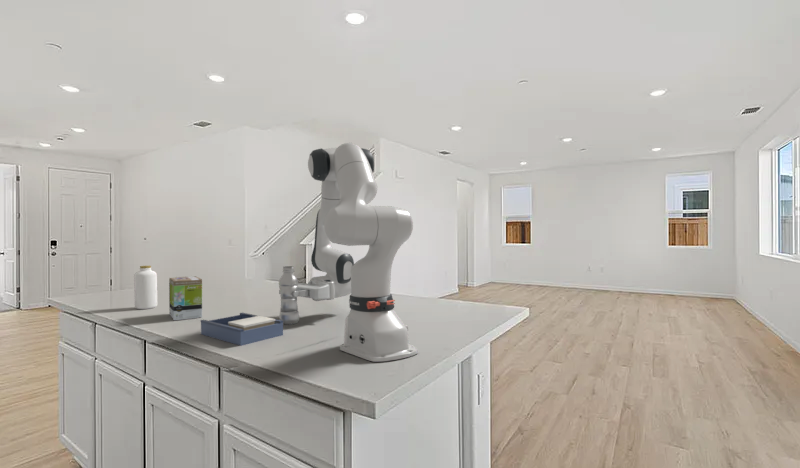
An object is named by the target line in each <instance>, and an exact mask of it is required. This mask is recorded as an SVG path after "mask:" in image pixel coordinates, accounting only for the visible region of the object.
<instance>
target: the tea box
mask: <svg viewBox="0 0 800 468" xmlns="http://www.w3.org/2000/svg"><path fill="white" fill-rule="evenodd" d="M168 282H169V283H168V284H169V285H168V286H169V287H168V290H169V293H168V294H169V295H168V296H169V298H168V299H169V301H168V303H169V308H168V309H169V315H170V317H171V319H172V320H173V321H182V320H183V321H184V320H190V319H192V320H193V319H199V318H202V317H203V279H202V278H200V277H198V276H192V275H191V276H176V277H169V281H168Z"/></svg>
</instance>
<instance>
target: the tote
mask: <svg viewBox="0 0 800 468" xmlns="http://www.w3.org/2000/svg"><path fill="white" fill-rule="evenodd" d="M255 316H258V315H256V314H251V313H246V312H240V313H239V314H238V315H233V316H227V317H220V318H216V319H209V320H207V319H200V334H201V335H203V336H206V337H210V338H213V339H216V340H219V341H223V342H226V343H231V344H233V345H236V346H241V347H242V346H246V345H249V344H255V343H258V342H261V341H265V340H269V339H270V340H271V339H274V338H277V337H278V338H279V337H281V336H284V324H283V321H282V320H280V319H276V318H274V319H275V321H274V324H272V325H268V326H263V327H259V328H254V329H250V330H245V331H244V329H240V328H236V327H232V326H229V324H228V322H230V321H235V320H240V319H245V318H250V317H255Z"/></svg>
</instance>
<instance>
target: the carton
mask: <svg viewBox="0 0 800 468" xmlns="http://www.w3.org/2000/svg"><path fill="white" fill-rule="evenodd" d="M275 319H276V318H272V317H266V316H261V315H257V316H255V317H250V318H245V319H240V320H235V321H230V322H228V324H229V326H232V327H236V328H240V329H244V331H245V330H250V329H254V328H259V327H263V326H268V325H272V324H274V321H275Z"/></svg>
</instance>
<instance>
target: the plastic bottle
mask: <svg viewBox="0 0 800 468" xmlns="http://www.w3.org/2000/svg"><path fill="white" fill-rule="evenodd" d="M294 272H295V266H293V265H292V266H282V273H283V274H282V275H281V277H280V278H279V280H278V287H279V290H280V294H279V295H280V311H279V317H278V320H282V321H283V325H295V324H298V323H299V321H300V313H299V308H298V307H299V306H298V297H293V296H292V292H293V291H297V290H298V283H299V280H298V278H297V276H296V275H295V273H294Z"/></svg>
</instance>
